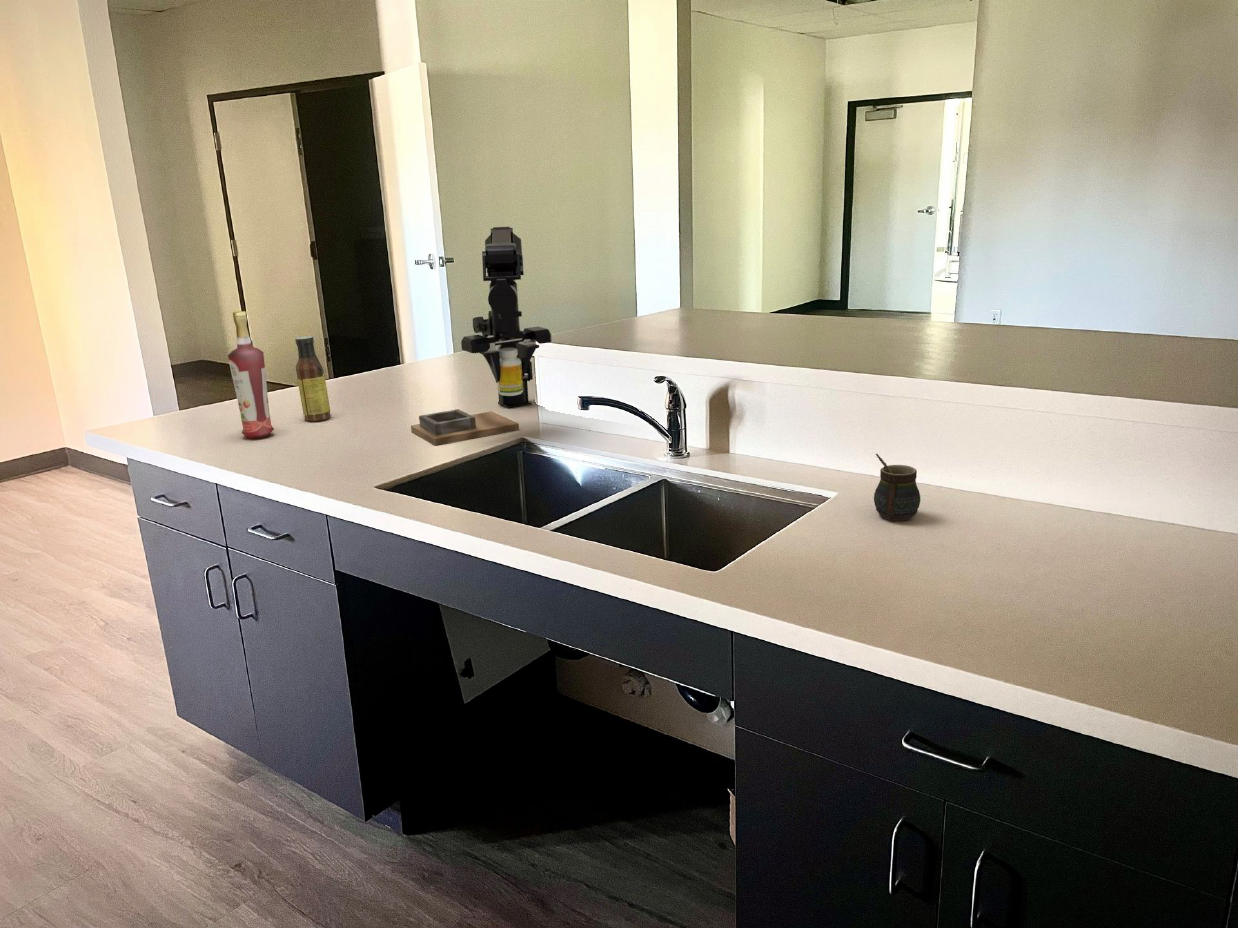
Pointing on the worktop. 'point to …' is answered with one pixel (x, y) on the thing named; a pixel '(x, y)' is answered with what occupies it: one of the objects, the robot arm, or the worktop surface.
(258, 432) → the liquor
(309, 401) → the sauce bottle
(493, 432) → the socket board
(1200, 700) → the worktop surface
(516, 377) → the supplement bottle
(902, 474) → the mate gourd
